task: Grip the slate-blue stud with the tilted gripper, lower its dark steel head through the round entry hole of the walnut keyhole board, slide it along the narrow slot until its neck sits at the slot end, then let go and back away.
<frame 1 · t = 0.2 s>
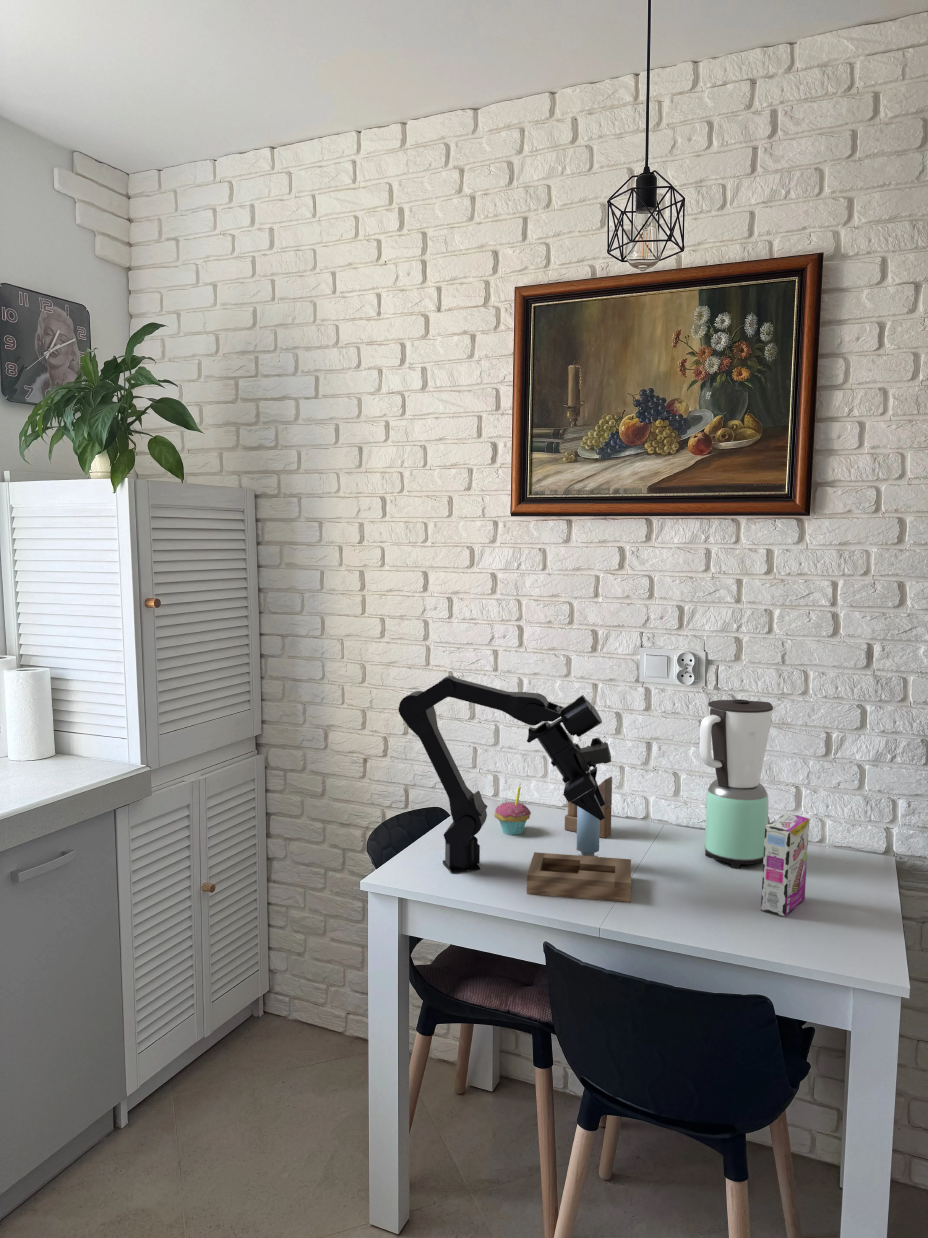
hand: (603, 812, 178), 14 cm above the table, tool tilted 35°, fingers open, 9 cm apart
candy bar box: (783, 906, 166), on the table
keyhole stud: (587, 863, 187), on the table
keyhole board: (580, 885, 175), on the table
mint green blender: (732, 860, 191), on the table
wooden block: (587, 833, 208), on the table
cupcake: (512, 832, 208), on the table
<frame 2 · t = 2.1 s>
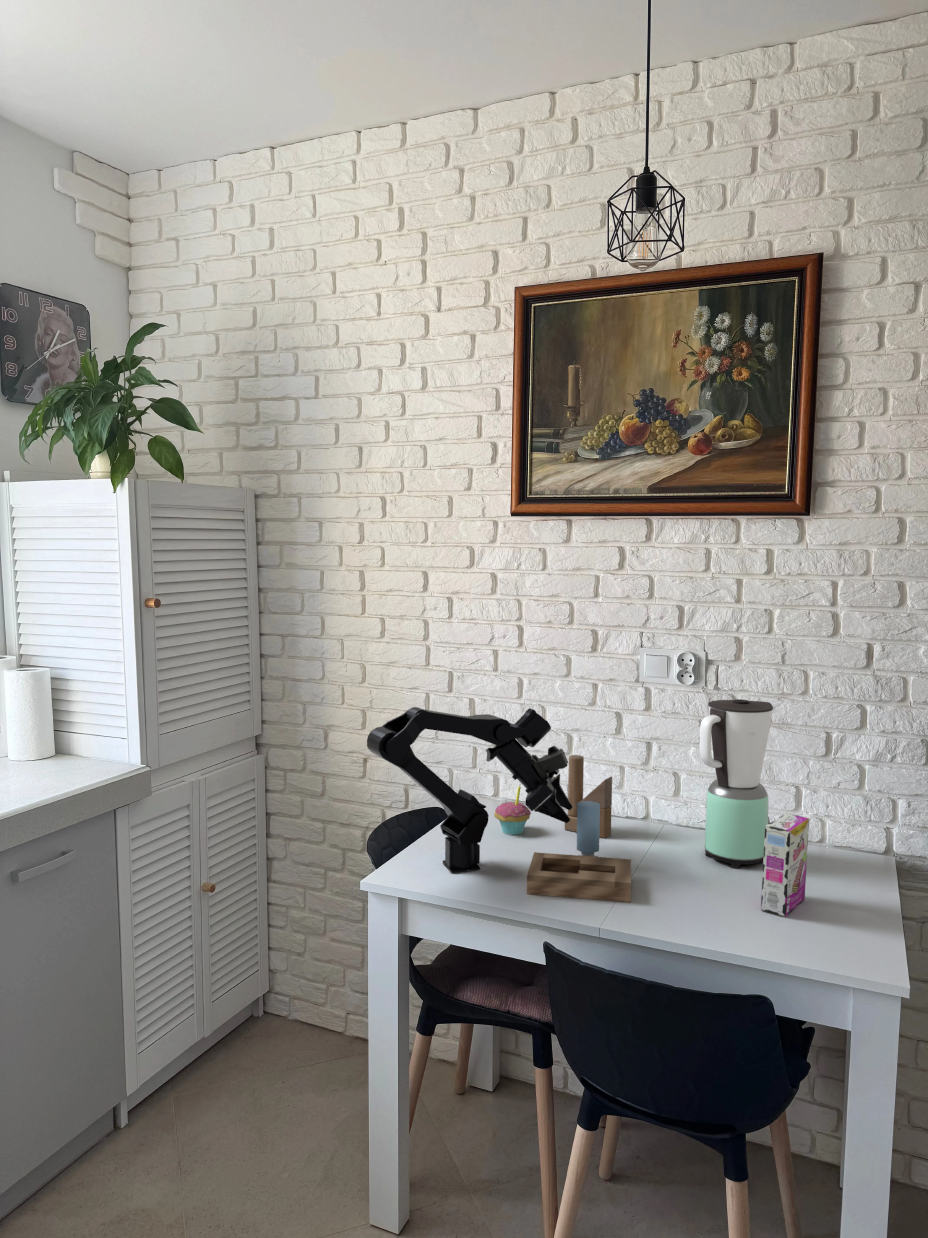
hand: (569, 815, 187), 10 cm above the table, tool tilted 45°, fingers open, 9 cm apart
nothing on the table moved.
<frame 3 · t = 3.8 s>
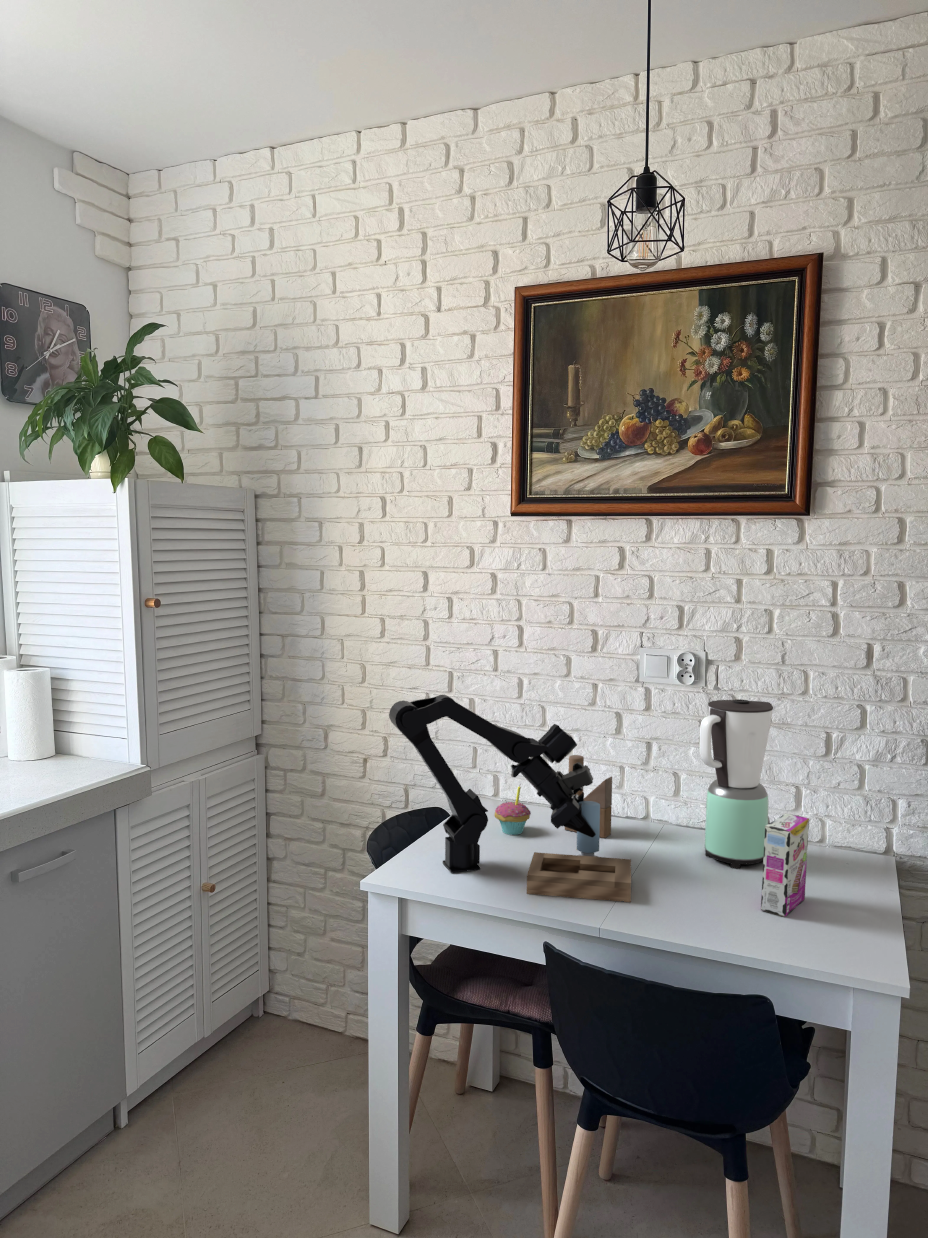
hand: (594, 832, 186), 7 cm above the table, tool tilted 45°, fingers closed on keyhole stud, 5 cm apart
keyhole stud: (587, 863, 187), on the table, touching gripper
everything else where it was.
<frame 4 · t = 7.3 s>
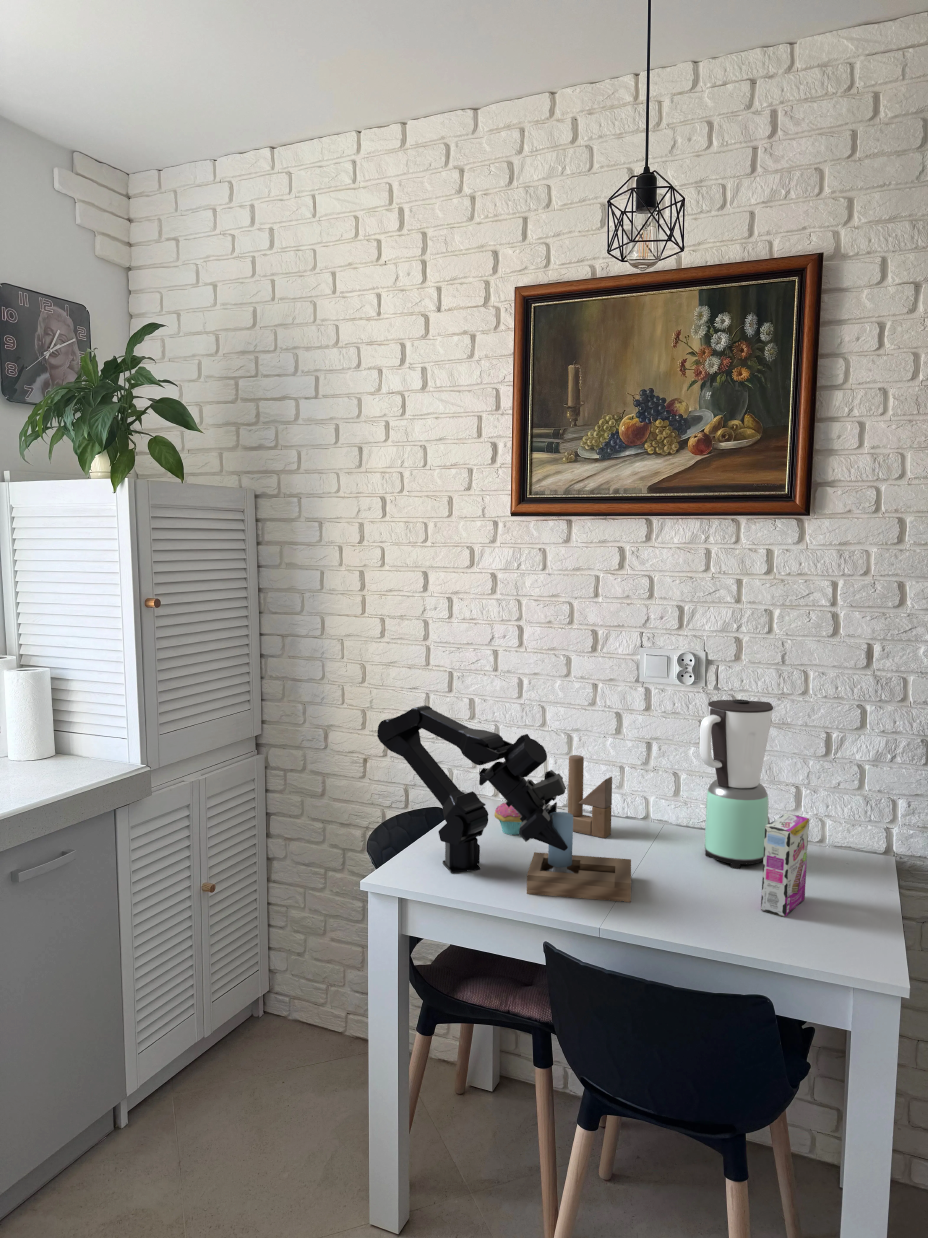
hand: (567, 845, 175), 8 cm above the table, tool tilted 45°, fingers closed on keyhole stud, 5 cm apart
keyhole stud: (559, 878, 176), point 1 cm above the table, touching gripper
everything else where it was.
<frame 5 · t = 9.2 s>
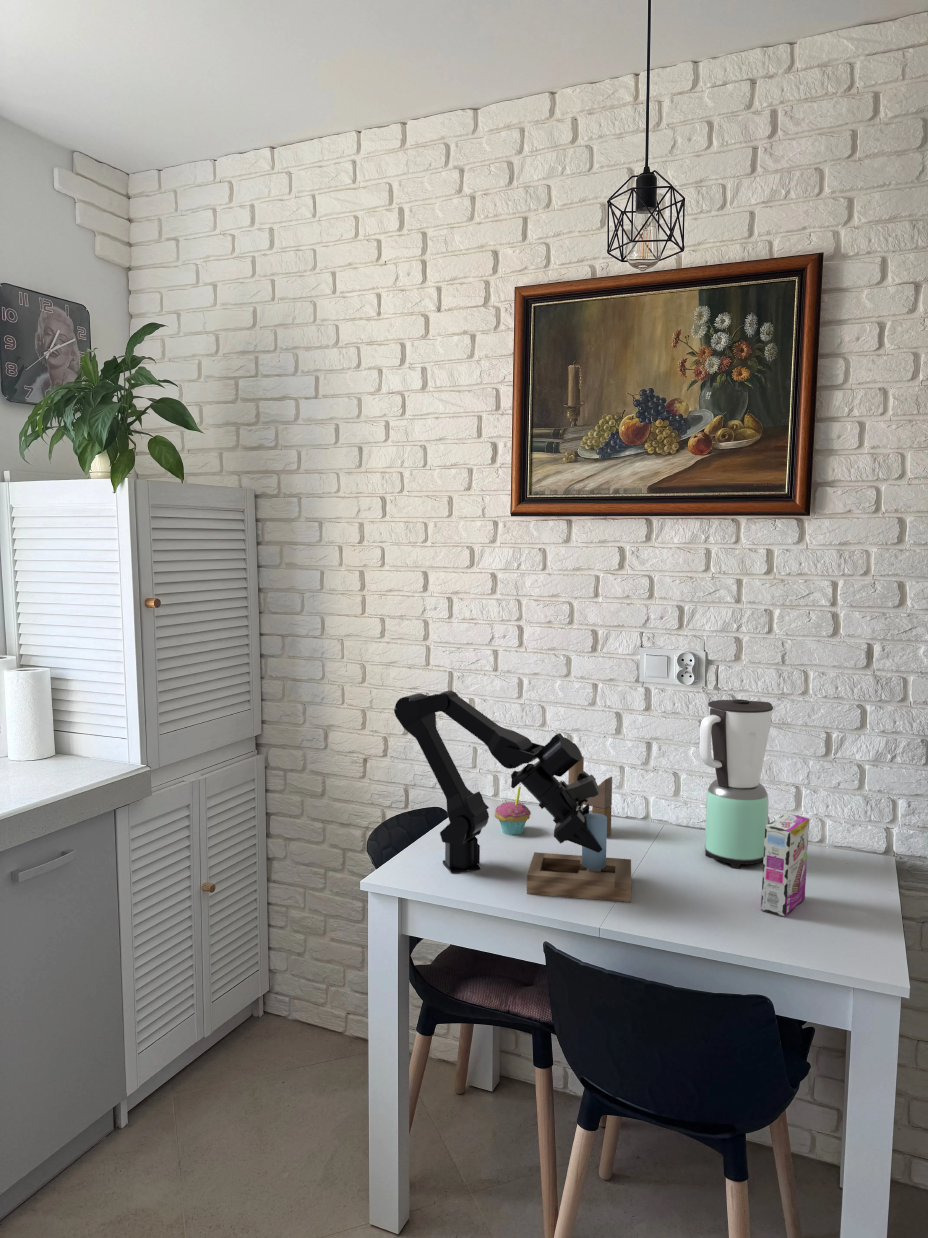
hand: (601, 846, 174), 8 cm above the table, tool tilted 45°, fingers closed on keyhole stud, 5 cm apart
keyhole stud: (593, 880, 174), point 1 cm above the table, touching gripper
everything else where it was.
when the fingers open (8 cm above the table, at t = 11.0 s): keyhole stud stays where it is, resting on keyhole board.
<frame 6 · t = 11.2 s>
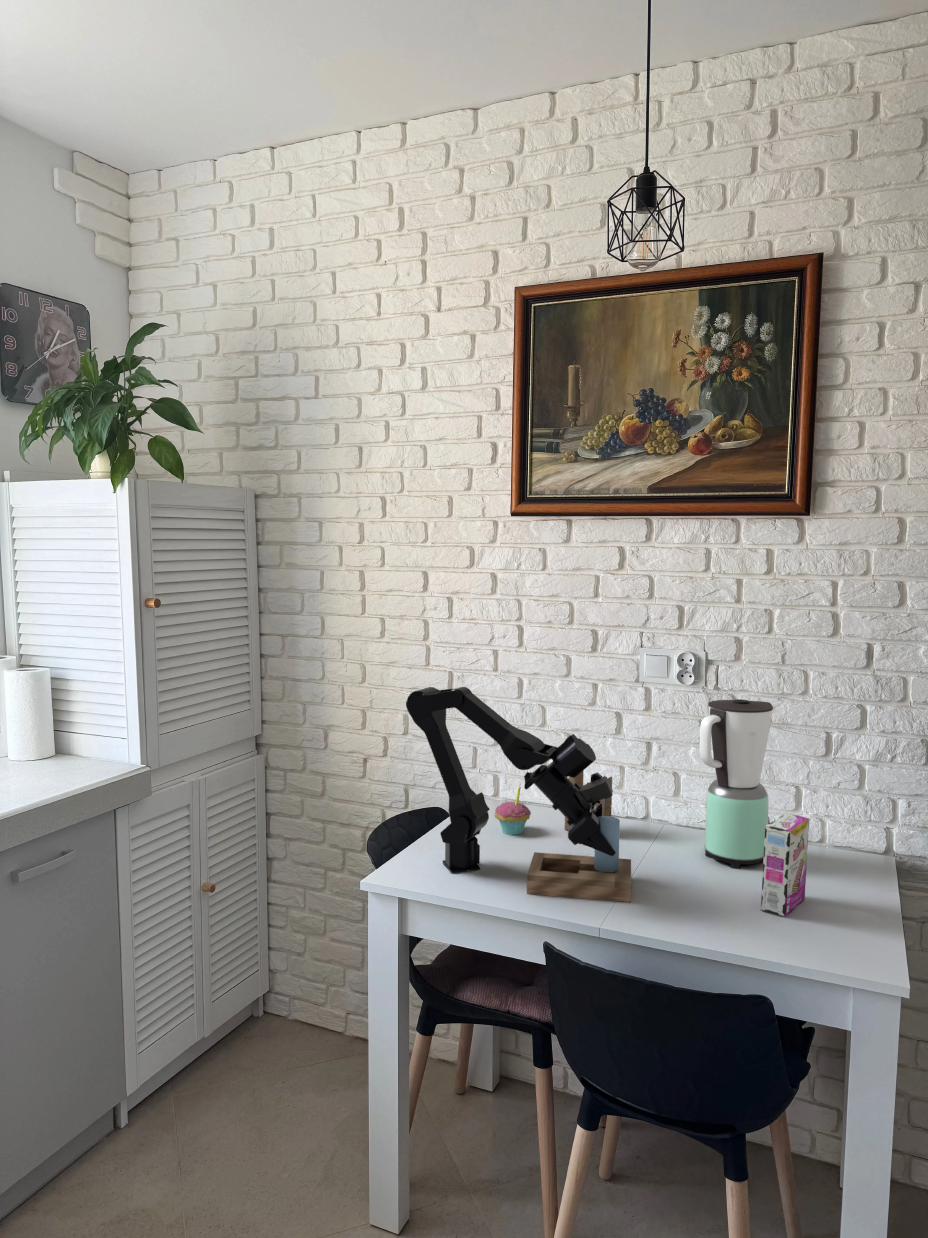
hand: (614, 848, 173), 8 cm above the table, tool tilted 45°, fingers open, 7 cm apart
keyhole stud: (606, 883, 174), point 1 cm above the table, touching keyhole board
everything else where it was.
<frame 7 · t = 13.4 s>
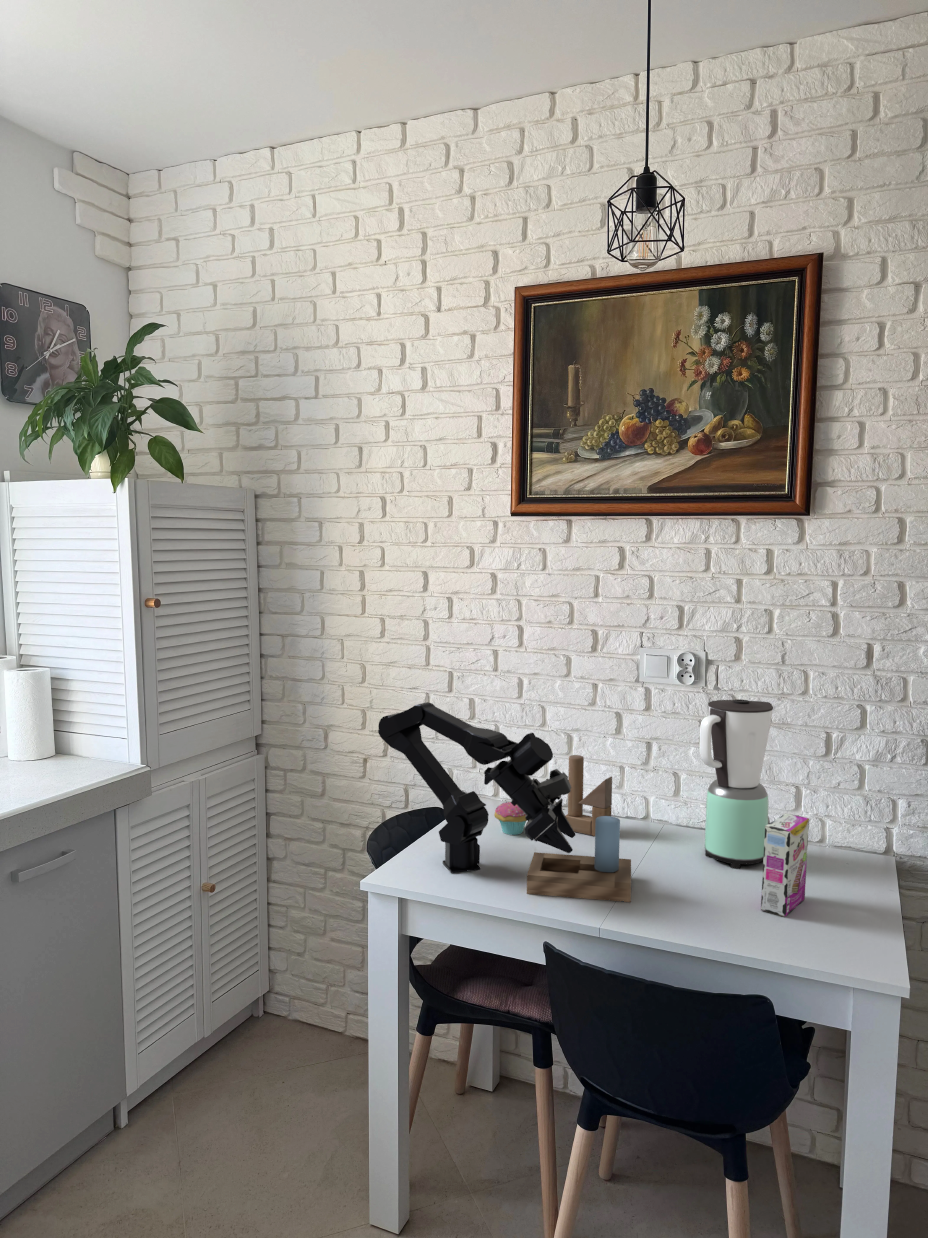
hand: (572, 844, 175), 8 cm above the table, tool tilted 45°, fingers open, 9 cm apart
nothing on the table moved.
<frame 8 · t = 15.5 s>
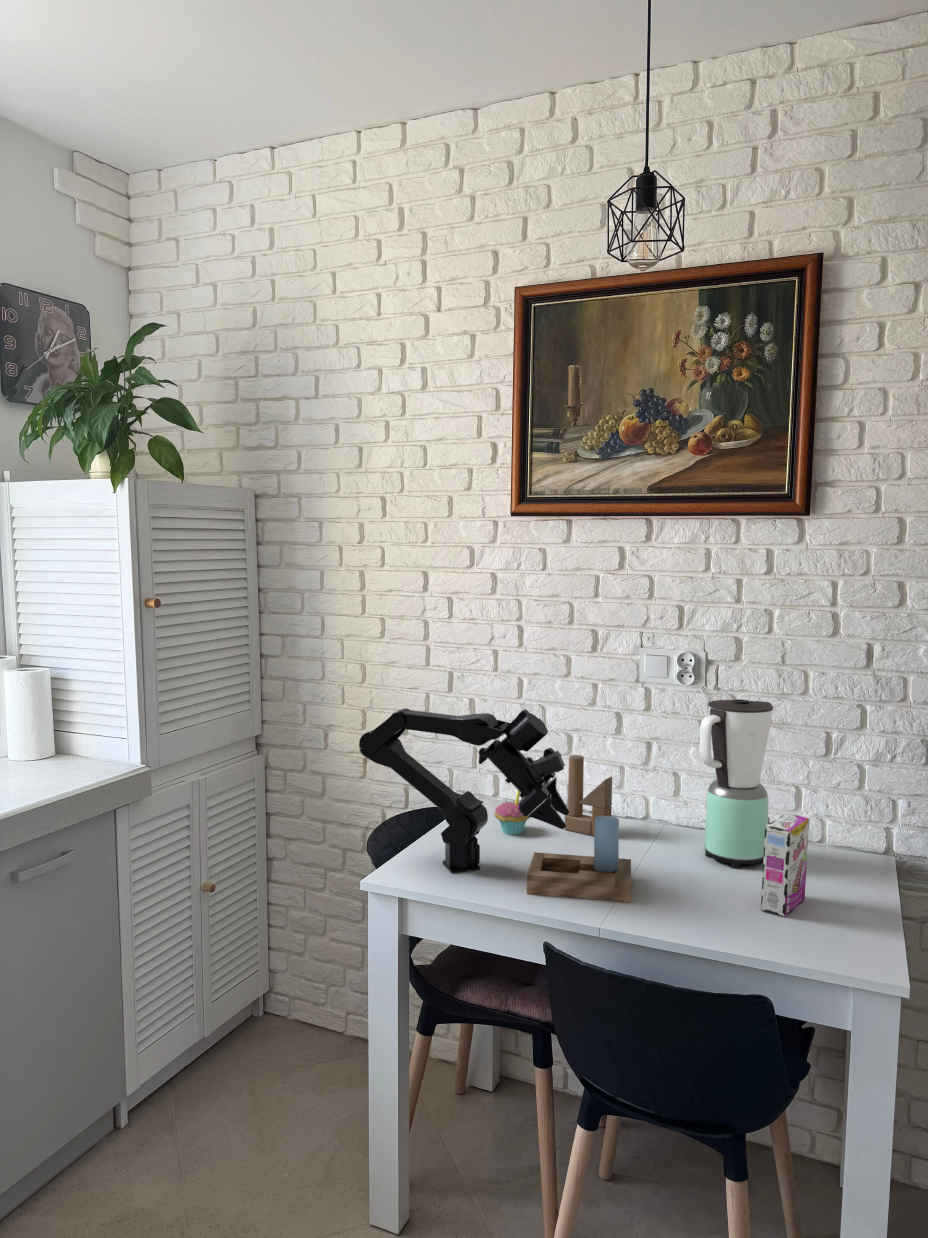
hand: (566, 820, 178), 12 cm above the table, tool tilted 45°, fingers open, 9 cm apart
nothing on the table moved.
at the end: keyhole stud 0.2 cm from the target spot, point 0.8 cm above the table; keyhole stud tilted 1°; the gripper is holding nothing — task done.
